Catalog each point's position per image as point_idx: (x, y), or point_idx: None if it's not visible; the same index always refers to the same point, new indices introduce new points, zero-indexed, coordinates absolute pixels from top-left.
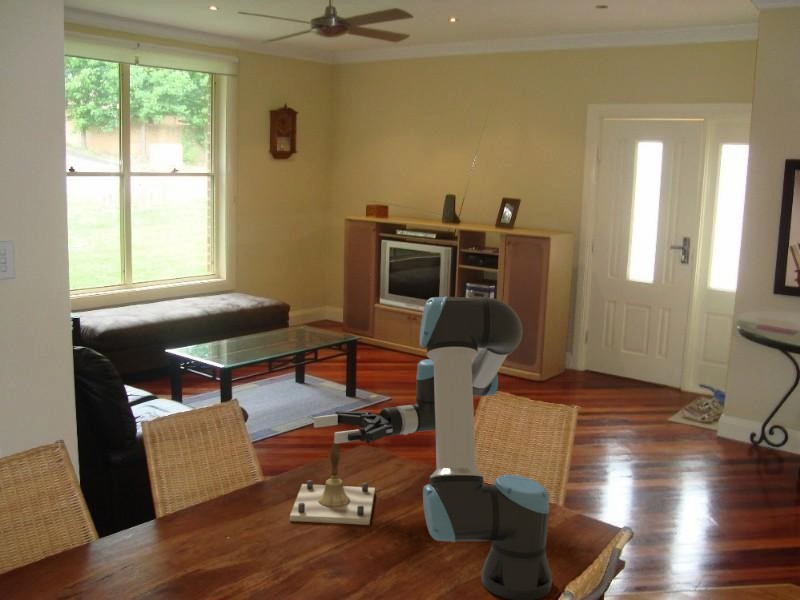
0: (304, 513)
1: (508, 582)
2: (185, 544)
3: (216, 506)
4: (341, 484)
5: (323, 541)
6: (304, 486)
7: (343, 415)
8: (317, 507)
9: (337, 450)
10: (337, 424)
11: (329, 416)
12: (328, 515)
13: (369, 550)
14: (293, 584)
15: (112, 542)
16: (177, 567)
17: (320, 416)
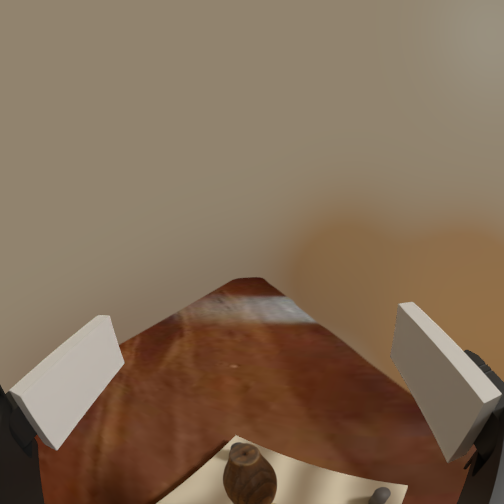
0: (227, 459)
1: None
2: (243, 336)
3: (346, 366)
4: None
5: (126, 447)
6: (391, 490)
7: (501, 452)
8: None
9: (223, 473)
10: (448, 461)
11: (444, 358)
12: (185, 491)
13: (51, 468)
14: None
15: (281, 303)
16: (199, 327)
17: (428, 320)
